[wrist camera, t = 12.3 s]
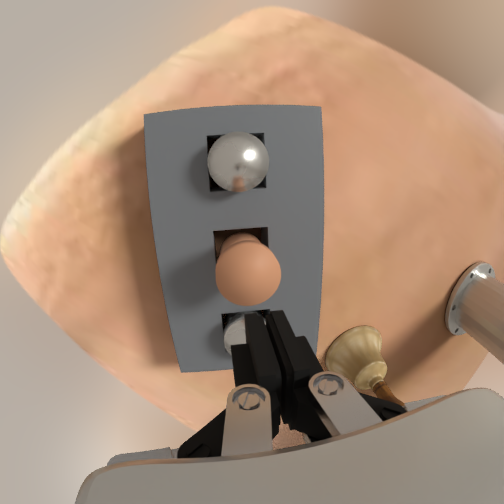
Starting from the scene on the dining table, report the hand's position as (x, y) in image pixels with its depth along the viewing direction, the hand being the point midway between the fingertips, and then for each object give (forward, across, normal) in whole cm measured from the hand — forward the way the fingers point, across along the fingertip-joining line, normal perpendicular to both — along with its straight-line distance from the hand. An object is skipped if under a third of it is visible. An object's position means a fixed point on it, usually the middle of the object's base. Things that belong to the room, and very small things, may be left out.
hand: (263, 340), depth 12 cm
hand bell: (+16, -14, +16) cm, 27 cm away
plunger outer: (+15, 0, -7) cm, 17 cm away
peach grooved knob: (+12, 0, 0) cm, 12 cm away
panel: (+16, 0, 0) cm, 16 cm away
